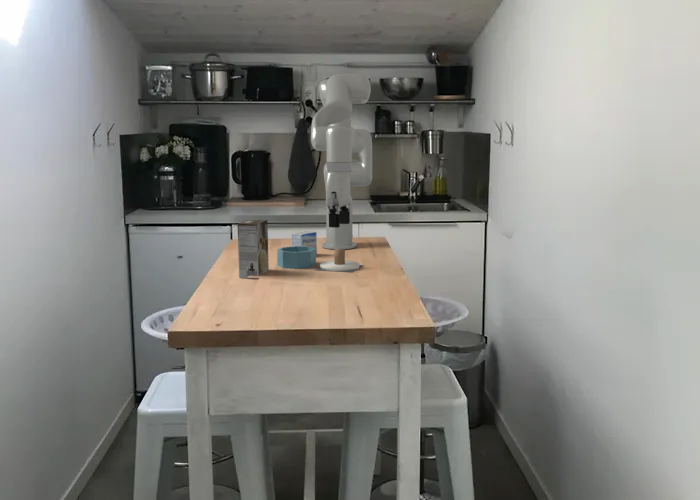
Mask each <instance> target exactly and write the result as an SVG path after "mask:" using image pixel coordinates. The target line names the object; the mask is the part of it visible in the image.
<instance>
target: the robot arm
mask: <svg viewBox="0 0 700 500" xmlns="http://www.w3.org/2000/svg"><path fill="white" fill-rule="evenodd" d="M371 89H372V87H371V81H370V79H369V77H368V76H367V75H365V74H363V73H362V74H361V73H339V74H333V75H331V76H330V77H329V78H327V79H323V80H322V81H320V83H319V85H318V91H319V92H318V93H319V98H320V100H321V103H322V107H321V108H319V110H318V111H317V112H316V113H315V114H314V116H313V117H312V120H311V130H310V142H311V146H312V148H313V149H314V150H315V151H318V152H319V151H320V152H326V163H325V164H324V166H323V180H324V185H325V205H326V206H325V211H326V213H325V218H326V220H325V221H326V225H325V227H326V229H325V231H326V241H325V242H323V243H322V245H321V246H322V248H324V249H327V250H334V249H345V250H350V249H355V248H357V245H358V244H357V243H356V242H353V237H354V235H353V197H352V194H351V187H367V186H369V185H371V183H372V181H373V141H372V135H371V133H370V132H371V131H369V130H368V129H364V128H354V127H353V126H352V115H351V114H352V112H353V105H358V104H359V105H361V104H362V105H363V104H366V103H367V102H368V101H369V99H370V96H371ZM353 157H357V158H359V159H353Z"/></svg>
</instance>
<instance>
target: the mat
mask: <svg viewBox="0 0 700 500" xmlns="http://www.w3.org/2000/svg"><path fill="white" fill-rule="evenodd" d="M364 266H365V265H364V264H363V265H362V264H359V269H361V268H362V267H364ZM359 269H357V270H359ZM357 270H353V271H341V272H340V273H351V274H352V273H355V272H356V271H357ZM315 271H321V272H327V271H326V270H322V269H320V266H319V267H317V268H316V269H315ZM331 272H336V273H339V272H338V271H331Z"/></svg>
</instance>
